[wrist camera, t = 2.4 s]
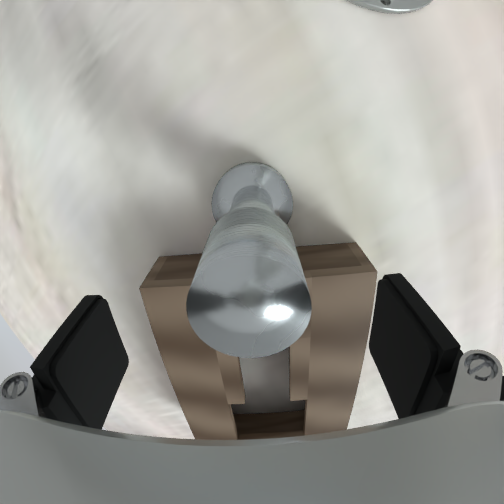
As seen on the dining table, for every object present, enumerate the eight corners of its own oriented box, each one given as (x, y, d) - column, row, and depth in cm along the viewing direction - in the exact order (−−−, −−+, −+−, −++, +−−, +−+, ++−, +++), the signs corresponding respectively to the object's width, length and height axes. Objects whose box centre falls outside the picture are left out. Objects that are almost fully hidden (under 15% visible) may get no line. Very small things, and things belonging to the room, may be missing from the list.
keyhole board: (159, 256, 24) (139, 288, 20) (356, 242, 24) (377, 271, 19) (205, 417, 33) (200, 450, 29) (335, 409, 33) (342, 442, 28)
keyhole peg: (210, 166, 21) (144, 237, 9) (288, 159, 21) (339, 222, 8) (219, 237, 24) (182, 374, 11) (291, 232, 23) (330, 366, 11)
